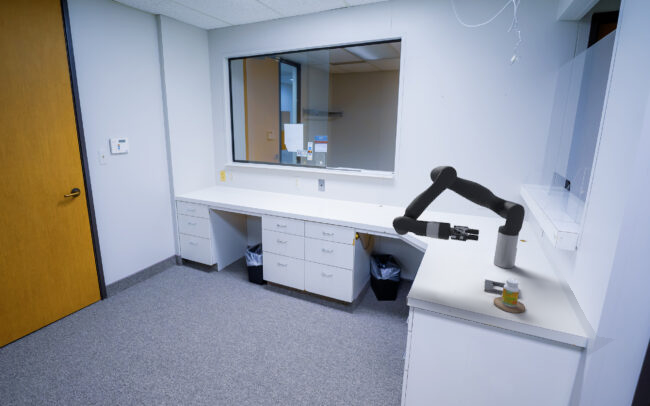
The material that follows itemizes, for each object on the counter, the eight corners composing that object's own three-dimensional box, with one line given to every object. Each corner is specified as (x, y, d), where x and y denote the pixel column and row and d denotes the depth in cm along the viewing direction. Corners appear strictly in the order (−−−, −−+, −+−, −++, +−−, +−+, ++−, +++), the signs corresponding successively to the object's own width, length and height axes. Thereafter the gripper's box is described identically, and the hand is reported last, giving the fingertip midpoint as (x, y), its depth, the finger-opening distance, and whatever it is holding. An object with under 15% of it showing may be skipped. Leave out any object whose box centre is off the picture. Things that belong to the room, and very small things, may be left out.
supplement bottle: (502, 305, 126) (505, 282, 124) (500, 299, 131) (503, 276, 129) (517, 308, 124) (521, 285, 122) (515, 301, 129) (519, 279, 127)
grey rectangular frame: (484, 281, 148) (485, 279, 148) (517, 288, 142) (518, 285, 142) (484, 290, 140) (484, 288, 139) (519, 298, 134) (519, 295, 134)
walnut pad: (504, 296, 135) (504, 294, 135) (531, 309, 126) (531, 307, 125) (487, 302, 130) (487, 300, 130) (513, 316, 121) (514, 314, 120)
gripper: (436, 226, 136) (479, 231, 129) (441, 218, 148) (479, 222, 141) (435, 243, 138) (477, 249, 131) (439, 233, 150) (478, 238, 143)
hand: (478, 235), depth 136 cm, fingers open, 8 cm apart
